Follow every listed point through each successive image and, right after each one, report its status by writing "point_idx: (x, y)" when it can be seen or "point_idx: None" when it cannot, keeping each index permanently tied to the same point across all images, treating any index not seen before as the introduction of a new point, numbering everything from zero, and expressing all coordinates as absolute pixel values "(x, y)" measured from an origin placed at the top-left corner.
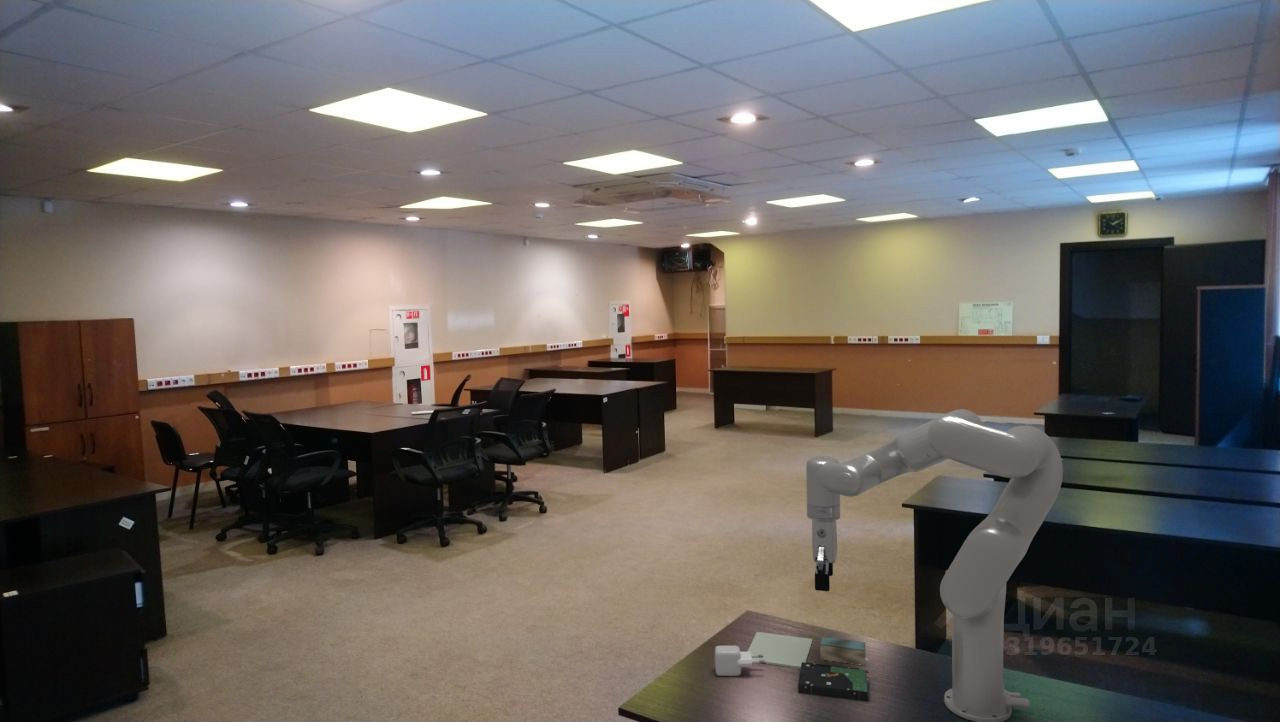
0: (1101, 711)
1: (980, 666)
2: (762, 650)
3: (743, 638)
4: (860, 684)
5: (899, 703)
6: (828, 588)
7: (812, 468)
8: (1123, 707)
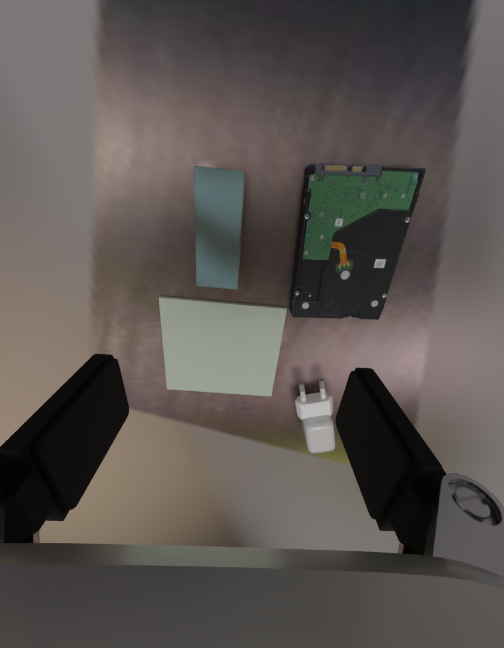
0: None
1: None
2: (236, 375)
3: (192, 401)
4: (387, 189)
5: (427, 81)
6: (376, 380)
7: None
8: None
